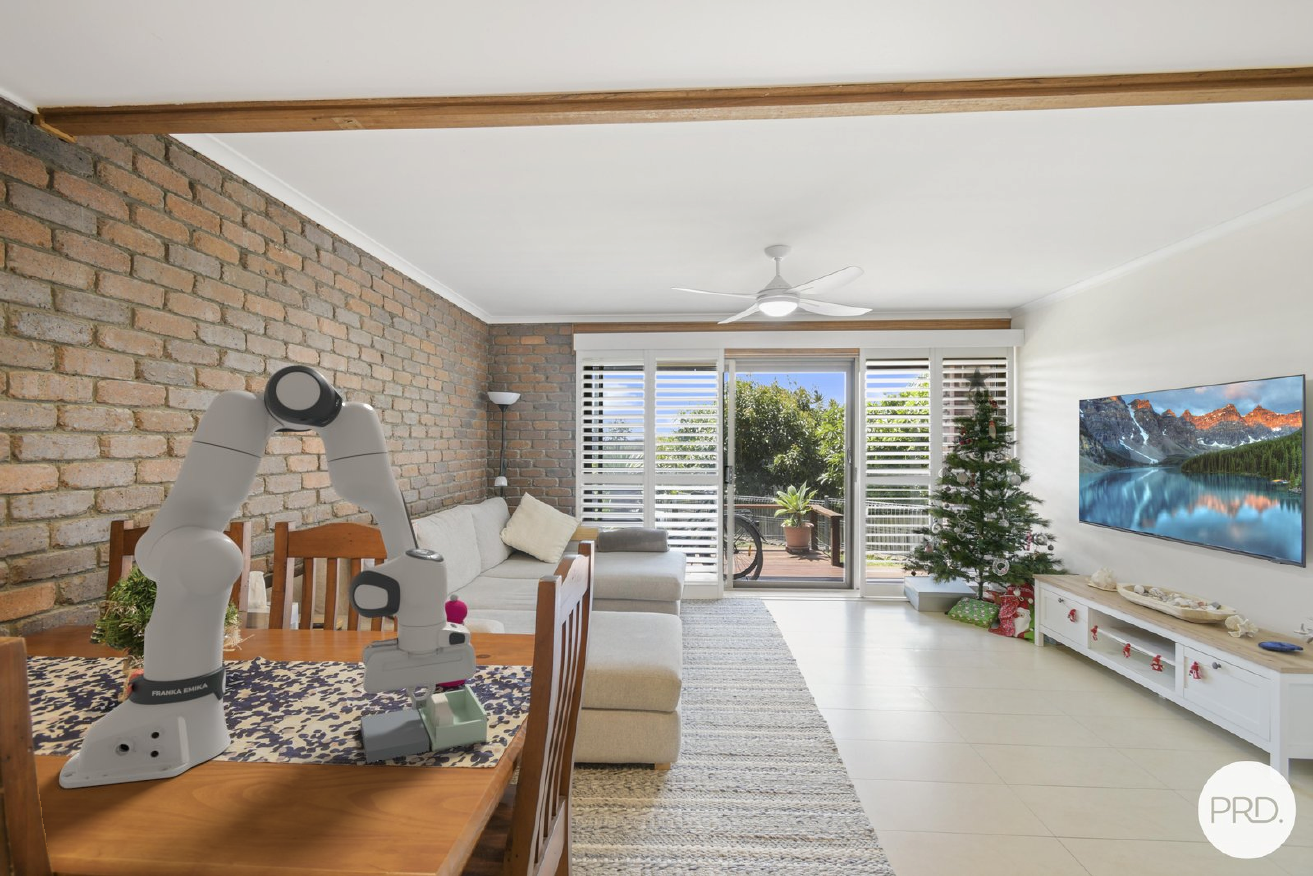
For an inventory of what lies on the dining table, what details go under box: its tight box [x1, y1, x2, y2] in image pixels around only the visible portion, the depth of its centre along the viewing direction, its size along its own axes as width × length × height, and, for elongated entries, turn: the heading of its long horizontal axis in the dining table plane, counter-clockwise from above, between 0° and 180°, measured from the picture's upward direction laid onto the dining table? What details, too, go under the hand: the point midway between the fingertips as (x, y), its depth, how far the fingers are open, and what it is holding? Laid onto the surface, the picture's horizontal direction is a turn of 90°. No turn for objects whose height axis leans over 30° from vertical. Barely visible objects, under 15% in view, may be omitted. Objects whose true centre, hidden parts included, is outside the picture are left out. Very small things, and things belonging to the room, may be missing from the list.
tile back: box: [430, 692, 448, 728], centre depth 125 cm, size 4×4×2 cm
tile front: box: [435, 706, 454, 735], centre depth 119 cm, size 4×4×2 cm
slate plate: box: [360, 708, 430, 764], centre depth 118 cm, size 10×15×2 cm, turn 29°
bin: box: [418, 683, 488, 753], centre depth 123 cm, size 10×16×5 cm, turn 29°
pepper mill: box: [437, 593, 468, 688], centre depth 146 cm, size 7×7×20 cm
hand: (420, 707), depth 123 cm, fingers closed
